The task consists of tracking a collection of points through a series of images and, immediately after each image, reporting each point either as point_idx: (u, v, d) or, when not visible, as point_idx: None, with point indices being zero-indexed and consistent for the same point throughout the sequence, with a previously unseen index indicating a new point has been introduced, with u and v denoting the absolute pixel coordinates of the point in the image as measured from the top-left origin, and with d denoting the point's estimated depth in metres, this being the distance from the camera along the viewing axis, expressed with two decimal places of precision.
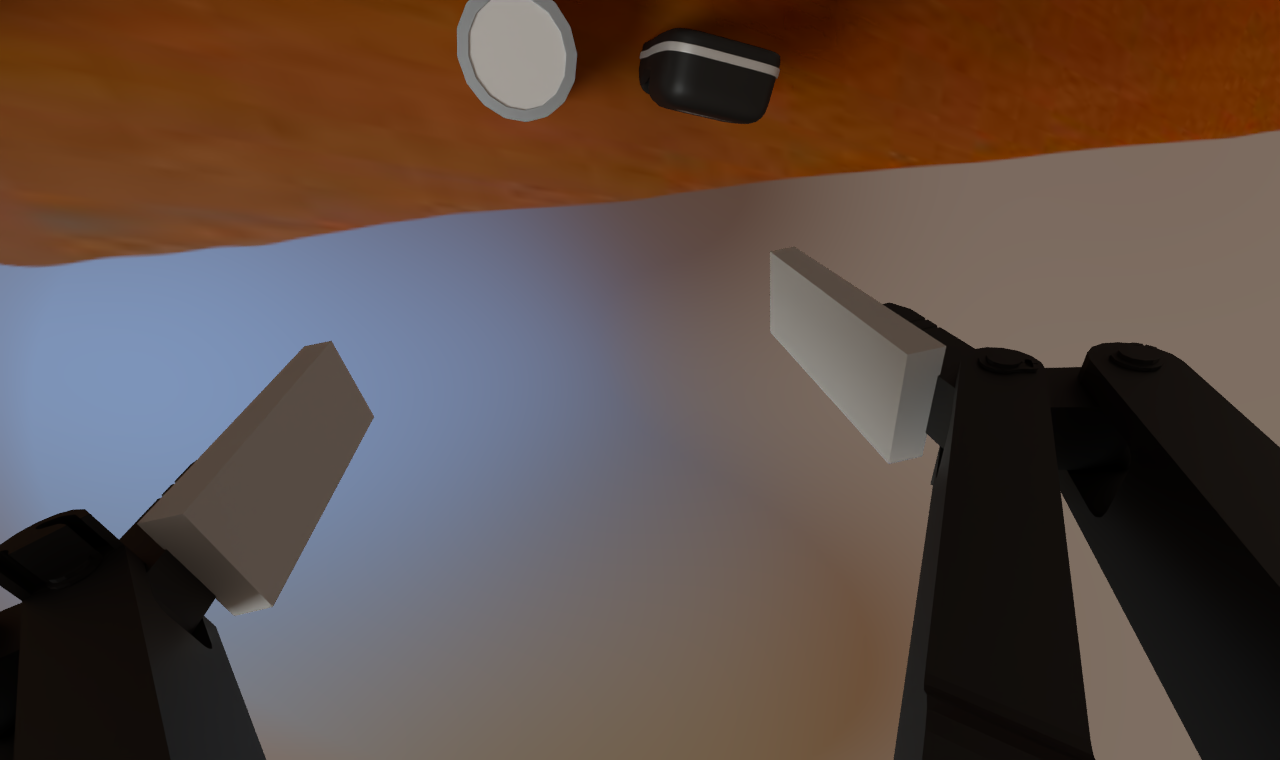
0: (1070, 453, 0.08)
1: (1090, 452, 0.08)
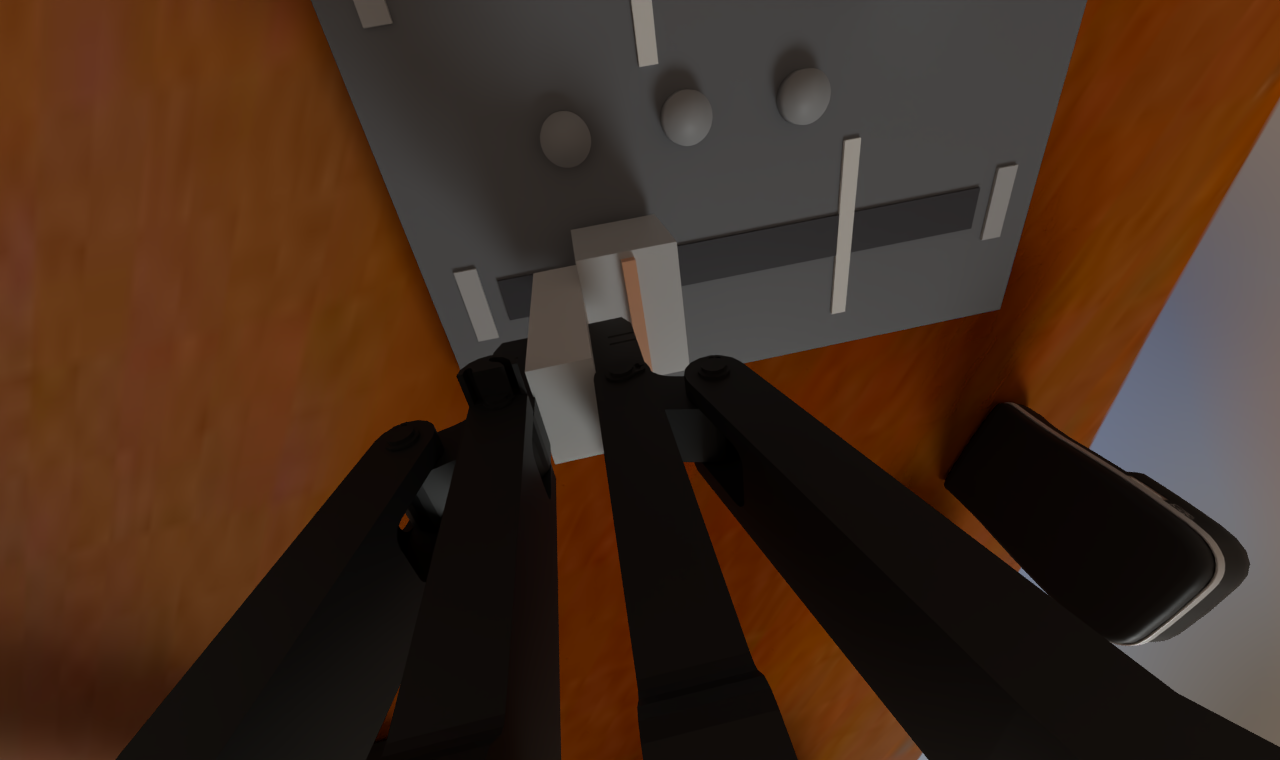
0: (680, 448, 0.10)
1: (694, 447, 0.10)
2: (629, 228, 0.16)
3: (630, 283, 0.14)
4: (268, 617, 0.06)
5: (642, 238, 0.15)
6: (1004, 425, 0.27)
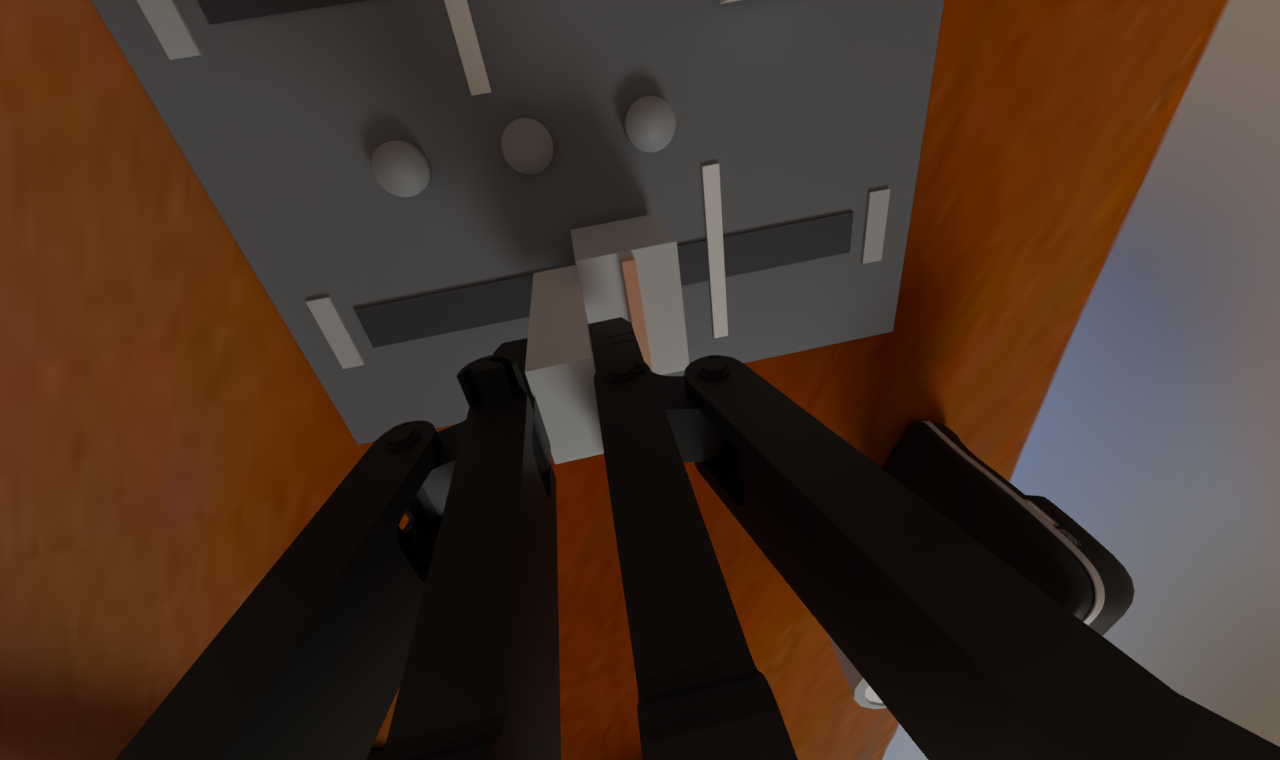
0: (680, 447, 0.10)
1: (694, 447, 0.10)
2: (629, 228, 0.16)
3: (630, 283, 0.14)
4: (268, 617, 0.06)
5: (642, 238, 0.15)
6: (917, 444, 0.27)
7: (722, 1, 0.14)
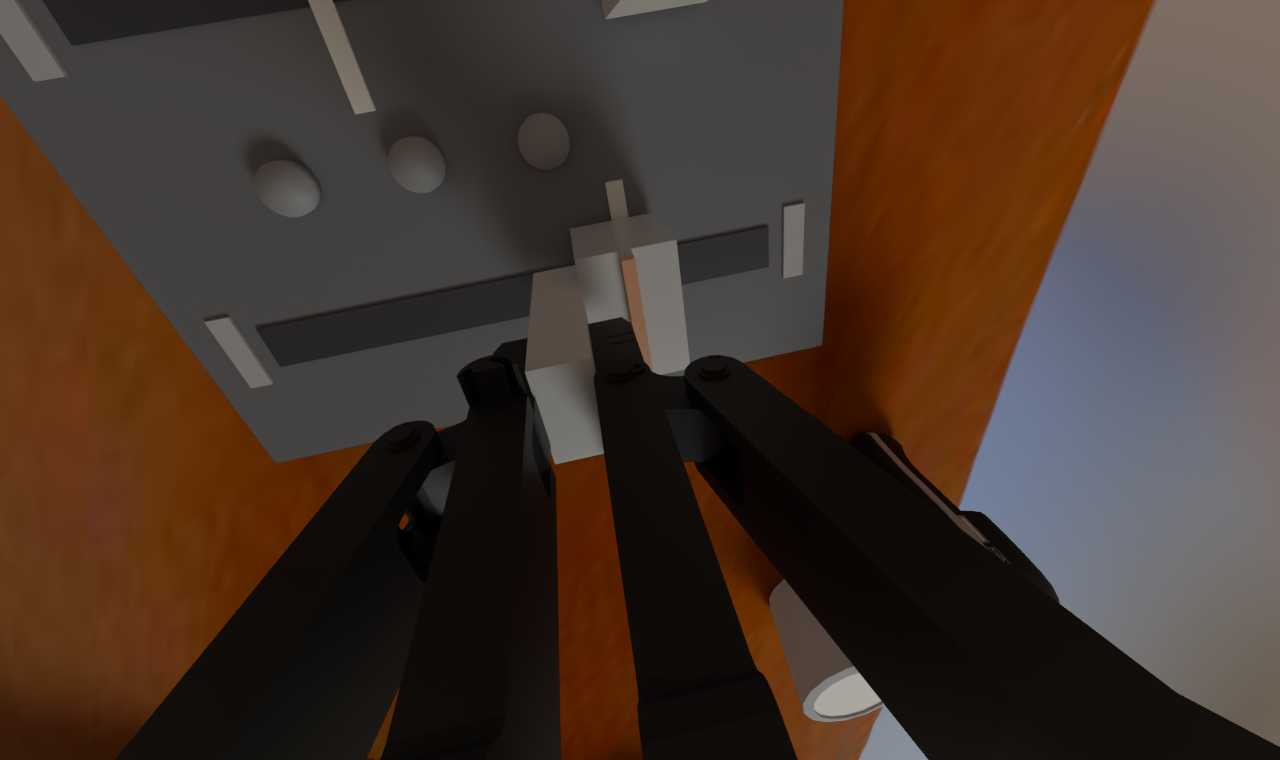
0: (680, 447, 0.10)
1: (695, 447, 0.10)
2: (629, 226, 0.16)
3: (629, 282, 0.14)
4: (268, 617, 0.06)
5: (642, 236, 0.15)
6: None
7: (605, 17, 0.14)
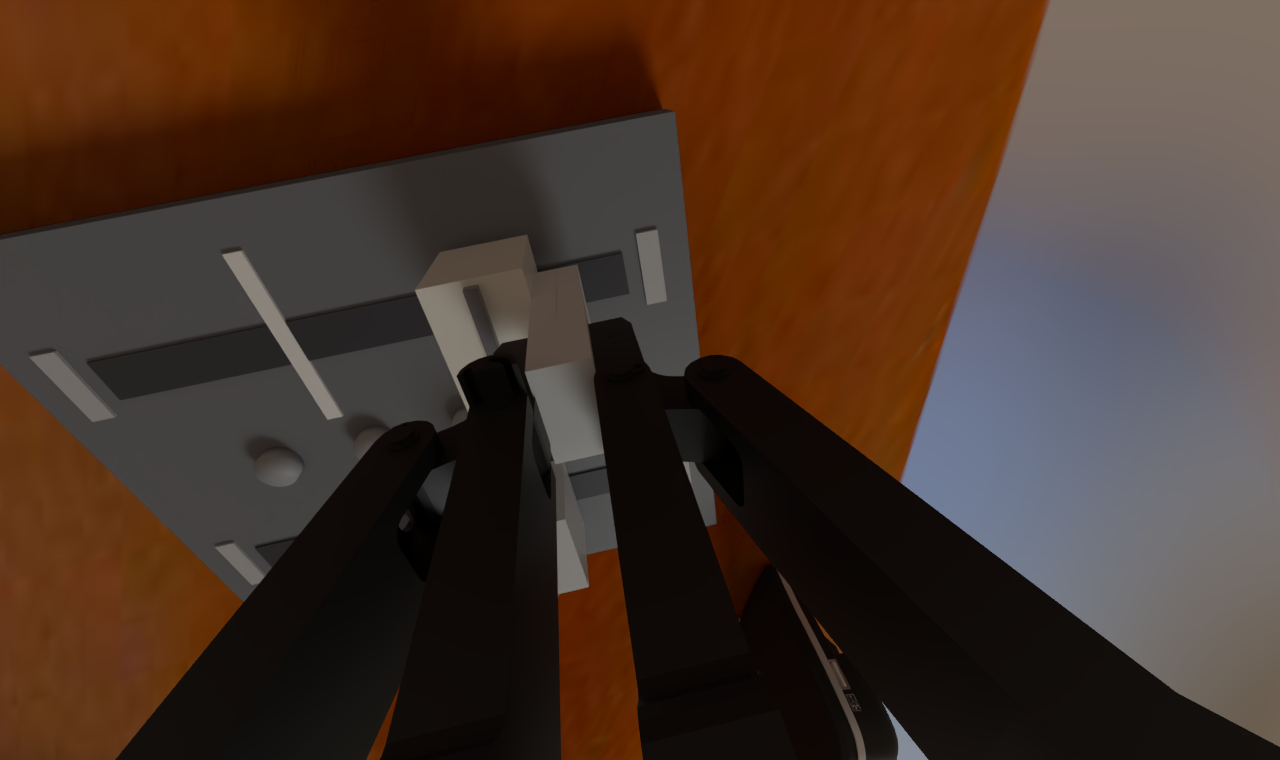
0: (680, 447, 0.10)
1: (694, 447, 0.10)
2: None
3: None
4: (268, 617, 0.06)
5: None
6: (767, 589, 0.31)
7: None
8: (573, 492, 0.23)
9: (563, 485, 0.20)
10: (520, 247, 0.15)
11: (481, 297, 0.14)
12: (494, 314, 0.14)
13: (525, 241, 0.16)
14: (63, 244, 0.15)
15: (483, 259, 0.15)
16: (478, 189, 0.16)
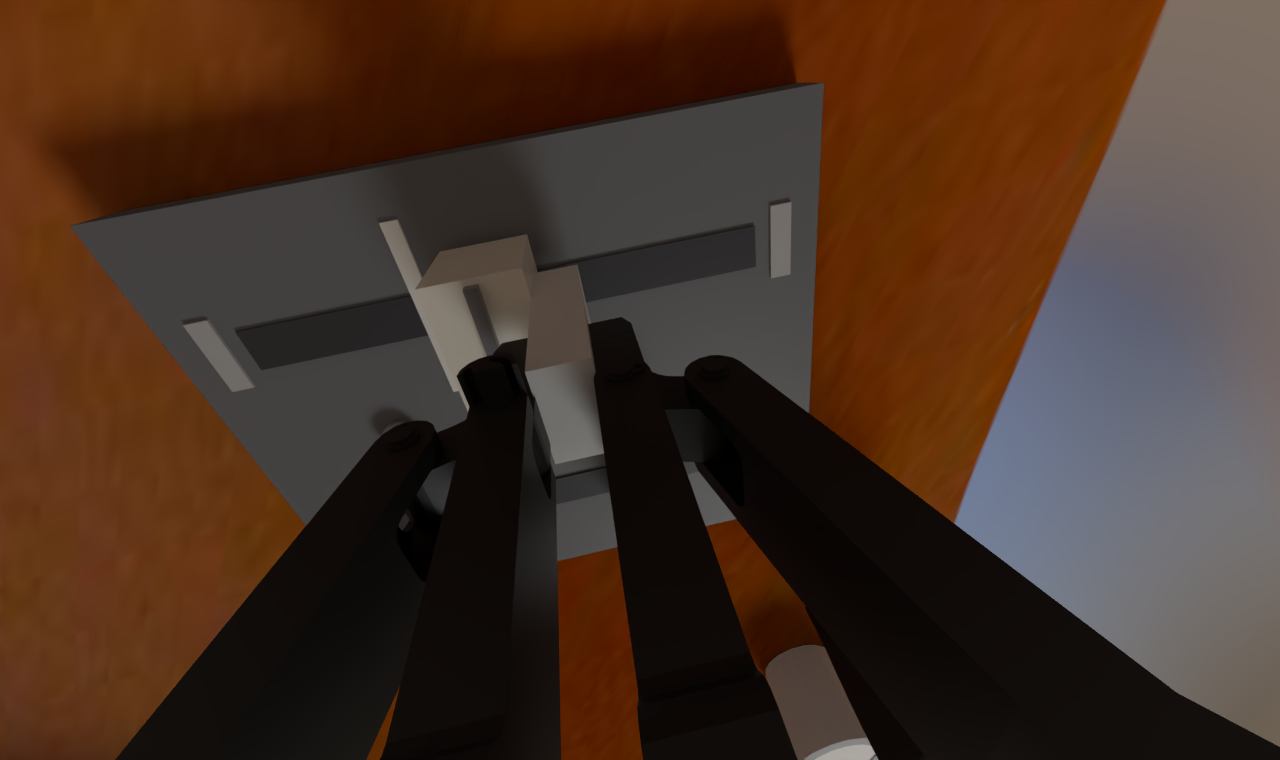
0: (680, 447, 0.10)
1: (694, 447, 0.10)
2: None
3: None
4: (268, 617, 0.06)
5: None
6: None
7: None
8: None
9: None
10: (520, 247, 0.15)
11: (481, 297, 0.14)
12: (494, 314, 0.14)
13: (525, 241, 0.16)
14: (230, 211, 0.15)
15: (482, 258, 0.15)
16: (628, 160, 0.16)
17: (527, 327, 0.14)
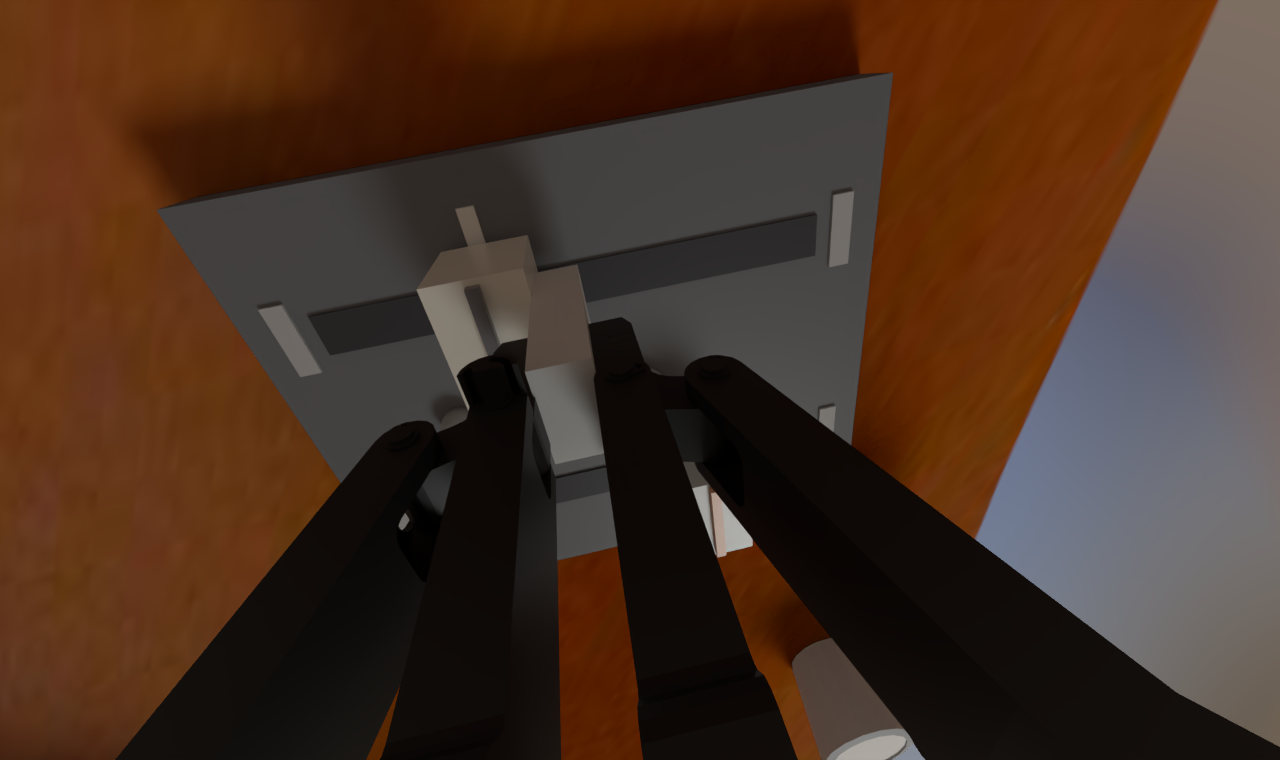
0: (680, 448, 0.10)
1: (694, 447, 0.10)
2: None
3: (715, 504, 0.19)
4: (268, 617, 0.06)
5: None
6: None
7: None
8: None
9: None
10: (521, 247, 0.15)
11: (483, 297, 0.14)
12: (495, 314, 0.14)
13: (526, 241, 0.16)
14: (312, 196, 0.15)
15: (484, 259, 0.15)
16: (699, 148, 0.16)
17: (528, 327, 0.15)
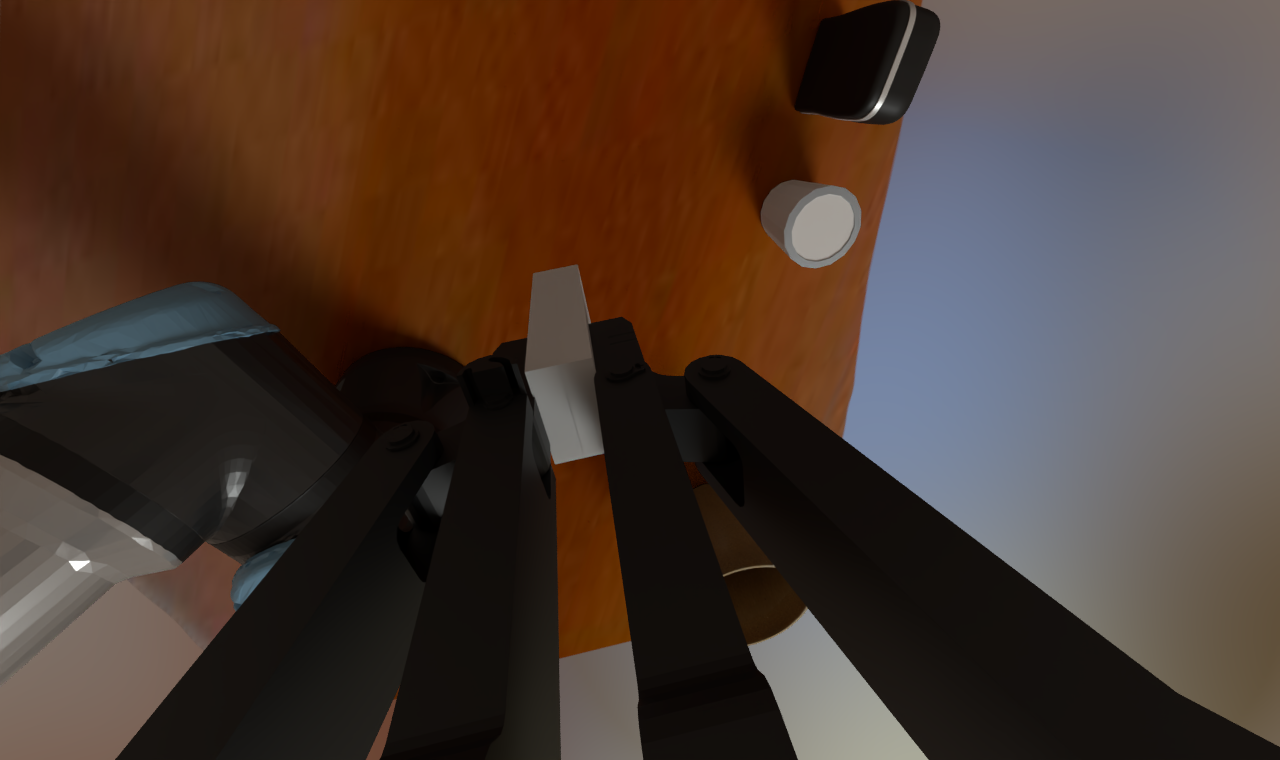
0: (680, 447, 0.10)
1: (695, 447, 0.10)
2: None
3: None
4: (268, 617, 0.06)
5: None
6: (823, 29, 0.38)
7: None
8: None
9: None
10: None
11: None
12: None
13: None
14: None
15: None
16: None
17: None
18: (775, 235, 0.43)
